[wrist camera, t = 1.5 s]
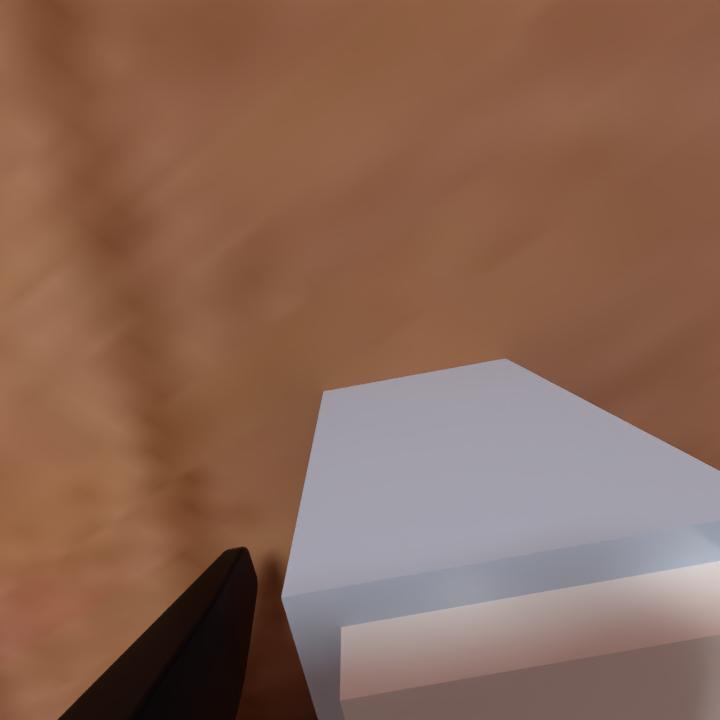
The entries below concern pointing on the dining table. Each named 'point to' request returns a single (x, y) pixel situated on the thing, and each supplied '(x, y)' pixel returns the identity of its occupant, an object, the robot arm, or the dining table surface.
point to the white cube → (502, 557)
